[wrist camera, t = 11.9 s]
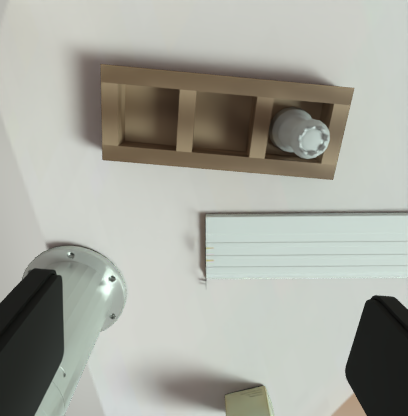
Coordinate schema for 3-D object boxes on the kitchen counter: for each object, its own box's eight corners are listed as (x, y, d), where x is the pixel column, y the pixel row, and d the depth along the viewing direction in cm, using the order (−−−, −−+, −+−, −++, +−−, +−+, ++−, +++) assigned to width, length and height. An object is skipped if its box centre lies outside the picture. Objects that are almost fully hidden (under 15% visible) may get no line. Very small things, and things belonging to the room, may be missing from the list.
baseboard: (443, 283, 41) (464, 209, 38) (459, 297, 39) (483, 218, 35) (205, 285, 42) (204, 211, 38) (205, 298, 39) (204, 221, 35)
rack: (321, 171, 36) (332, 179, 32) (112, 153, 35) (102, 160, 32) (339, 87, 33) (354, 87, 29) (111, 66, 32) (100, 63, 29)
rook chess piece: (292, 96, 33) (318, 99, 25) (320, 129, 34) (353, 141, 26) (258, 129, 34) (274, 141, 26) (286, 159, 35) (309, 179, 27)
